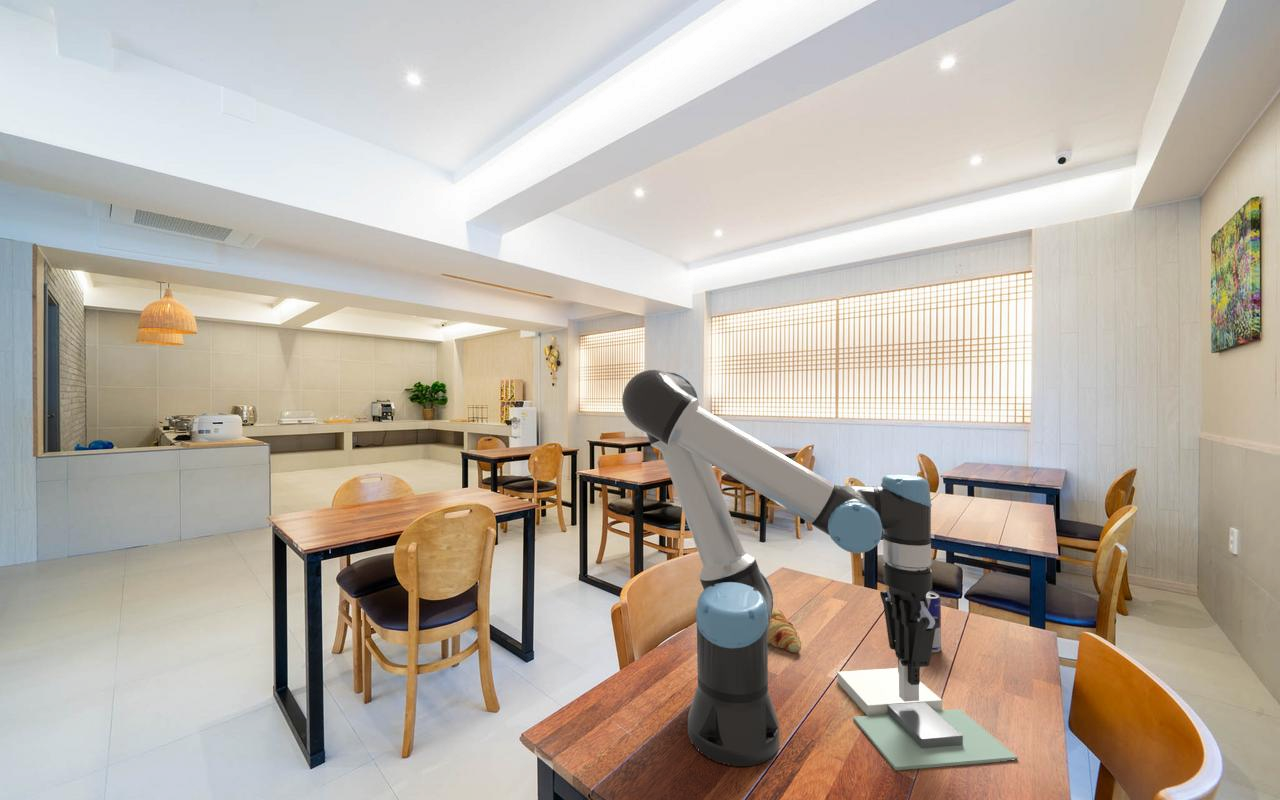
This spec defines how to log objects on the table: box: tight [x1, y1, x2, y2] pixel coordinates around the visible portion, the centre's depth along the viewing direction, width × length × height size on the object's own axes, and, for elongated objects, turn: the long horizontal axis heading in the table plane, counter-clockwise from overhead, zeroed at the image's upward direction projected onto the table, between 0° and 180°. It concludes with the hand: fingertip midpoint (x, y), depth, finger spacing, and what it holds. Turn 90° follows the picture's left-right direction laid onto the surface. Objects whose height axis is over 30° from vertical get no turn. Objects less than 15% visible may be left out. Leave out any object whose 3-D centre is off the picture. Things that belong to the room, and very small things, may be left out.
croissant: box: [768, 606, 802, 653], centre depth 118 cm, size 21×10×8 cm, turn 25°
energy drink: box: [926, 590, 942, 654], centre depth 111 cm, size 5×5×12 cm
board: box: [836, 667, 943, 716], centre depth 93 cm, size 14×11×2 cm
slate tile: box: [888, 702, 963, 749], centre depth 83 cm, size 7×9×2 cm
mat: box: [852, 708, 1018, 771], centre depth 81 cm, size 20×12×1 cm, turn 95°
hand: (909, 698), depth 86 cm, fingers closed
